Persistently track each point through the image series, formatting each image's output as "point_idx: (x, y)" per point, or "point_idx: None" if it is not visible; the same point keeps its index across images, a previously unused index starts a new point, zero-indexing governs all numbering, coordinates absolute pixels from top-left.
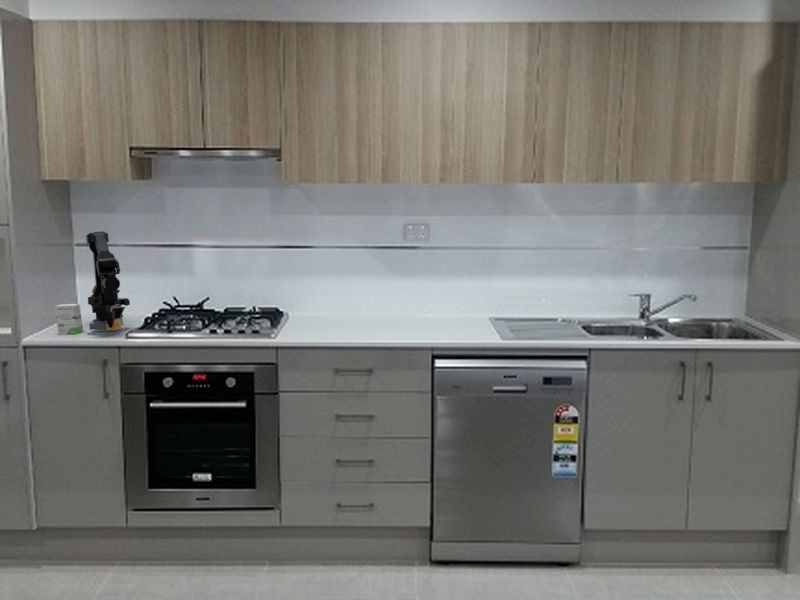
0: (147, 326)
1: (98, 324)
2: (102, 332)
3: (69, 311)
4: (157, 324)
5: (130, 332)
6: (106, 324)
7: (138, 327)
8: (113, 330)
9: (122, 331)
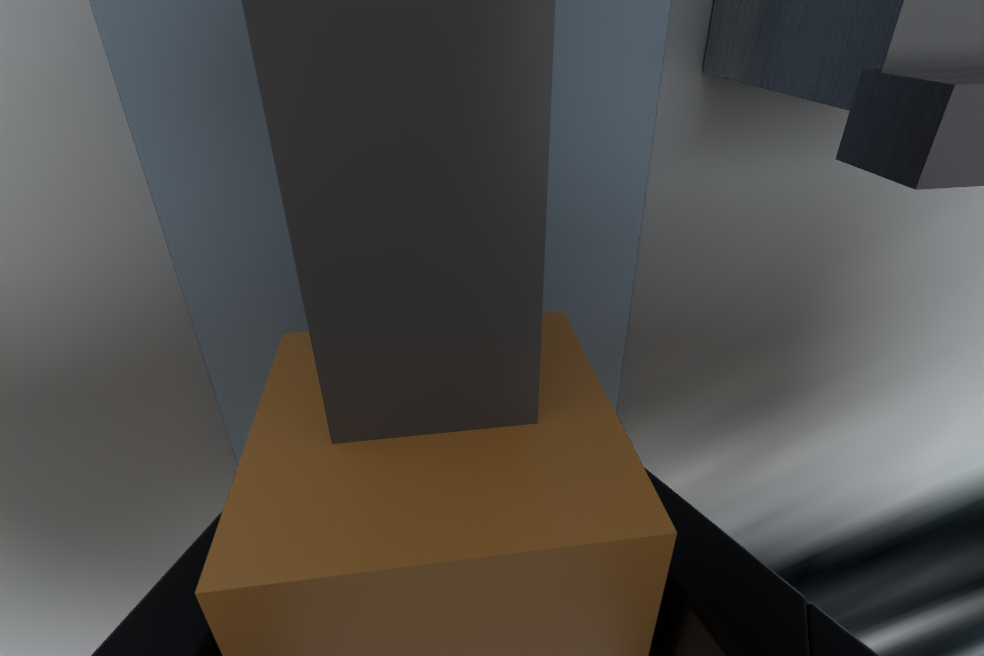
0: (859, 584)
1: (251, 16)
2: (259, 175)
3: None
4: (953, 615)
5: None
6: (247, 454)
7: (828, 518)
8: None
9: None
